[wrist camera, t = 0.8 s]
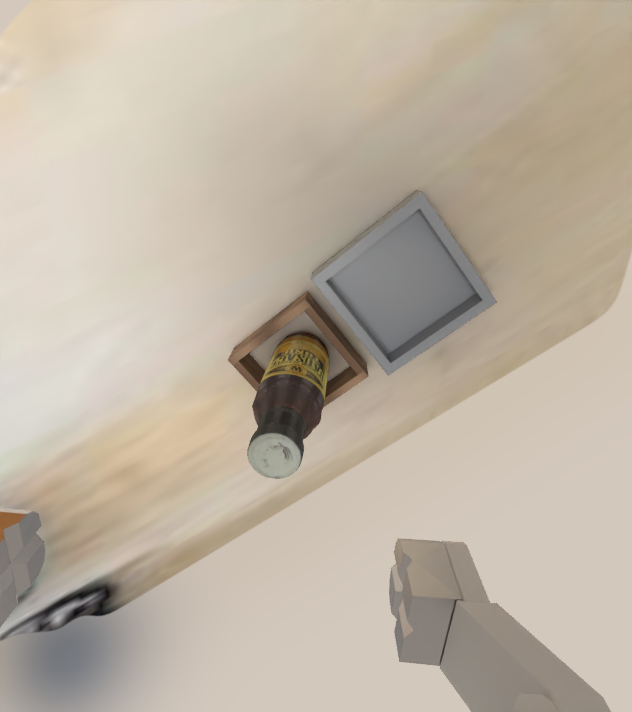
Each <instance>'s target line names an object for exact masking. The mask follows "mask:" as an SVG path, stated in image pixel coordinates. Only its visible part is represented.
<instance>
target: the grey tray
mask: <svg viewBox="0 0 632 712" xmlns="http://www.w3.org/2000/svg"><path fill="white" fill-rule="evenodd" d="M311 280H312V282H313V283H314V284H315V285H316V287H317V288H318V289H319V290H320V292H321V293H322V294H323V295H324V297H325V298H326V299H327V300H328V301H329V303H330V304H331V305H332V306H333V308H334V309H335V310H336V311H337V313H338V314H339V315H340V316H341V318H342V319H343V320H344V321H345V323H346V324H347V325H348V326H349V328H350V329H351V330H352V331H353V333H354V334H355V335H356V336H357V338H358V339H359V340H360V341H361V343H362V344H363V345H364V346H365V347H366V349H367V350H368V351H369V352H370V354H371V355H372V356H373V357H374V359H375V360H376V361H377V362H378V364H379V365H380V366H381V367H382V369H383V370H384V371H385V372H386V374H387V375H390V374H391V373H393V372H394V371H396V370H397V369H399V368H400V367H402V366H403V365H405V364H406V363H408V362H409V361H411V360H412V359H413V358H415V357H416V356H418V355H419V354H421V353H422V352H424V351H425V350H427V349H428V348H430V347H431V346H433V345H434V344H436V343H437V342H439V341H440V340H442V339H443V338H445V337H446V336H447V335H449V334H450V333H452V332H453V331H455V330H456V329H458V328H459V327H461V326H462V325H464V324H465V323H467V322H468V321H470V320H471V319H473V318H474V317H476V316H477V315H479V314H480V313H481V312H483V311H484V310H486V309H487V308H489V307H490V306H492V305H493V304H495V303H496V302H497V301H496V300H495V298H494V297H493V295H492V294H491V292H490V291H489V289H488V288H487V286H486V285H485V283H484V282H483V280H482V279H481V277H480V276H479V275H478V273H477V272H476V270H475V269H474V267H473V266H472V264H471V263H470V261H469V260H468V258H467V257H466V255H465V254H464V252H463V251H462V249H461V248H460V246H459V245H458V243H457V242H456V240H455V239H454V237H453V236H452V234H451V233H450V231H449V230H448V229H447V227H446V226H445V224H444V223H443V221H442V220H441V218H440V217H439V215H438V214H437V212H436V211H435V209H434V208H433V206H432V205H431V203H430V202H429V200H428V199H427V197H426V196H425V194H424V193H423V192H421V191H415V192H414V193H413V194H411V195H410V196H409V197H408V198H406V199H405V200H404V201H403V202H401V203H400V204H399V205H398V206H396V207H395V208H394V209H392V210H391V211H390V212H389V213H387V214H386V215H385V216H384V217H382V218H381V219H380V220H379V221H377V222H376V223H375V224H374V225H372V226H371V227H370V228H368V229H367V230H366V231H365V232H363V233H362V234H361V235H360V236H358V237H357V238H356V239H355V240H353V241H352V242H351V243H349V244H348V245H347V246H346V247H344V248H343V249H342V250H341V251H339V252H338V253H337V254H336V255H334V256H333V257H332V258H331V259H329V260H328V261H327V262H325V263H324V264H323V265H322V266H320V267H319V268H318V269H317V270H315V271H314V272H313V273H312V278H311Z"/></svg>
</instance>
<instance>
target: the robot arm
mask: <svg viewBox="0 0 632 712" xmlns="http://www.w3.org/2000/svg"><path fill="white" fill-rule="evenodd" d="M40 527H41V522H40V518H39V514H38V513H36V512H34V511H27V510H17V509H7V508H0V627H1V626H2V625H3V623H4V622H5V621H6V619H7V618H8V617H9V615H10V614H11V612H12V611H13V610H14V608H15V607H16V606H17V604H18V602H17V594H19V593H21V592H22V591H24V590H26V589H27V588H29V587H31V585H32V584H33V583H34V581H35V580H36V578H37V577H38V575H39V573H40V571H41V568H42V565H43V563H44V558H45V545H44V541H43V540H42V539H41V538H40V537H39V536H38V535H37V534H36V532H37V531H38V529H39V528H40ZM394 554H395V558H396V564H395V565H394V566H393V567H392V568H391V574H390V588H389V594H390V605H391V612H392V614H393V615H394V616H395V617H396V619H397V621H396V627H395V638H396V644H397V650H398V655H399V661H400V662H409V663H417V664H428V665H437V666H440V669H441V670H442V672H443V673H444V674H445V676H446V677H447V679H448V680H449V681H450V683H451V684H452V685H453V687H454V688H455V690H456V691H457V692H458V694H459V695H460V696H461V698H462V699H463V701H464V702H465V703H466V705H467V706H468V707H469V709H470V710H471V712H611V711H610V709H609V708H608V706H607V704H606V702H605V700H604V698H603V697H602V696H601V695H600V694H599V693H597V692H596V691H595V690H594V689H593V688H592V687H590V685H588V684H587V683H586V682H585V681H584V680H583V679H582V678H580V677H579V676H578V675H577V674H576V673H575V672H574V671H573V670H571V669H570V668H569V667H568V666H567V665H566V664H565V663H564V662H562V661H561V660H560V659H559V658H558V657H557V656H556V655H554V654H553V653H552V652H551V651H550V650H549V649H548V648H547V647H545V646H544V645H543V644H542V643H541V642H540V641H539V640H537V639H536V638H535V637H534V636H533V635H532V634H531V633H530V632H529V631H527V630H526V629H525V628H524V627H523V626H522V625H521V624H520V623H518V622H517V621H516V620H515V619H514V618H513V617H512V616H511V615H509V614H508V613H507V612H506V611H505V610H504V609H503V608H502V607H500V606H499V605H498V604H497V603H490V601H489V600H488V597H487V594H486V592H485V589H484V587H483V584H482V582H481V579H480V577H479V574H478V572H477V569H476V567H475V564H474V562H473V559H472V557H471V554H470V552H469V549H468V547H467V545H466V544H465V543H463V542H449V541H448V542H447V541H442V542H440V541H427V540H412V539H397V542H396V546H395V551H394Z"/></svg>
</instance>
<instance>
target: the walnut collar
mask: <svg viewBox="0 0 632 712" xmlns="http://www.w3.org/2000/svg"><path fill="white" fill-rule="evenodd" d="M303 311H305V312H306V313H307V314H308V316H309V317H310V318H311V319H312V321H313V322H314V323H315V324H316V325H317V327H318V328H319V329H320V330H321V331H322V333H323V334H324V335H325V336H326V337H327V339H328V340H329V341H330V342H331V343H332V345H333V346H334V347H335V348H336V349H337V351H338V352H339V353H340V354H341V355H342V357H343V358H344V359H345V360H346V362H347V363H348V364H349V365H350V367H349V368H348V369H346V370H345V371H343V372H342V373H340V374H339V375H338V376H336V377H335V378H333V379H332V380H330V381H329V382H328V383H327V385H326V393H325V400H324V406H326V405H327V404H329V403H330V402H332V401H333V400H335V399H336V398H338V397H339V396H341V395H342V394H343V393H345V392H346V391H348V390H349V389H351V388H352V387H354V386H355V385H357V384H358V383H359V382H361V381H362V380H364V379H365V378H367V377H368V371H367V365H366V363H365V361H364V360H363V359H362V358H361V356H360V355H359V354H358V353H357V352H356V350H355V349H354V348H353V347H352V345H351V344H350V343H349V342H348V340H347V339H346V338H345V337H344V336H343V334H342V333H341V332H340V331H339V329H338V328H337V327H336V326H335V325H334V323H333V322H332V321H331V320H330V318H329V317H328V316H327V315H326V313H325V312H324V311H323V310H322V309H321V307H320V306H319V305H318V304H317V302H316V301H315V300H314V299H313V298H312V296H311V295H310V294H309V293H308V291H307V292H306V293H304V294H303V295H302V296H301V297H299V298H298V299H297V300H295V301H294V302H293V303H292V304H290V305H289V306H288V307H286V308H285V309H284V310H283V311H281V312H280V313H279V314H277V315H276V316H275V317H274V318H272V319H271V320H270V321H268V322H267V323H266V324H265V325H263V326H262V327H261V328H260V329H258V330H257V331H256V332H254V333H253V334H252V335H251V336H249V337H248V338H247V339H245V340H244V341H243V342H242V343H240V344H239V345H238V346H236V347H235V348H234V350H233V352H232V353H231V355H230V357H229V359H228V361H229V362H230V363H231V364H232V365H233V366H234V367H235V368H236V369H237V370H238V371H239V373H240V374H241V375H242V376H243V377H244V378H245V379H246V380H247V381H248V382H249V383H250V384H251V385H252V387H253V388H254V389H255V390H256V391H258V389H259V385H260V383H261V381H262V378H263V376H264V373H265V371H264V370H263V369H262V368H261V367H260V366H259V365H258V364H257V362H256V361H255V360H254V359H253V358H252V357H251V356H250V355H249V354H248V353H250V352H251V351H252V350H253V349H255V348H256V347H257V346H259V345H260V344H261V343H263V342H264V341H265V340H266V339H268V338H269V337H270V336H272V335H273V334H274V333H276V332H277V331H278V330H280V329H281V328H282V327H283V326H285V325H286V324H287V323H289V322H290V321H291V320H293V319H294V318H295V317H296V316H298V315H299V314H300V313H302V312H303ZM324 406H323V407H324Z"/></svg>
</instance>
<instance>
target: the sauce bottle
mask: <svg viewBox="0 0 632 712" xmlns="http://www.w3.org/2000/svg"><path fill="white" fill-rule="evenodd" d="M328 371H329V356H328V352H327V350H326V348H325V345H324V344H323V343H322V342H321V341H320V340H319V339H317V338H316V337H314V336H313V335H309V334H307V333H300V334H294V335H290V336H287V337H286V338H285V339H284V340H283V341H282V342H281V343H280V344H279V345H278V346H277V347H276V349H275V352H274V354H273V356H272V358H271V360H270V363H269V365H268V367H267V369H266V371H265V373H264V376H263V378H262V381H261V383H260V385H259V389H258V391H257V394H256V397H255V400H254V403H253V405H252V407H253V411H254V416H255V420H256V422H257V425H258V429H257V431H256V432H255V433H254V435H253V436H252V438H251V441H250V444H249V447H248V459H249V462H250V464H251V465H252V467H253V469H254V470H256V471H257V472H258V473H259V474H261V475H263V476H265V477H269V478H275V479H281V478H285V477H288V476H290V475H291V474H293V473H294V472H295V471H296V470H297V469H298V468H299V466H300V464H301V461H302V457H303V452H304V445H303V439H305V438H306V437H308V435H309V434H310V433H311V432H312V430H313V429H314V428H315V427H316V426H317V425H318V424H319V423H320V420H321V412H322V409H323V406H324V400H325V393H326V385H327V378H328Z"/></svg>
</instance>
